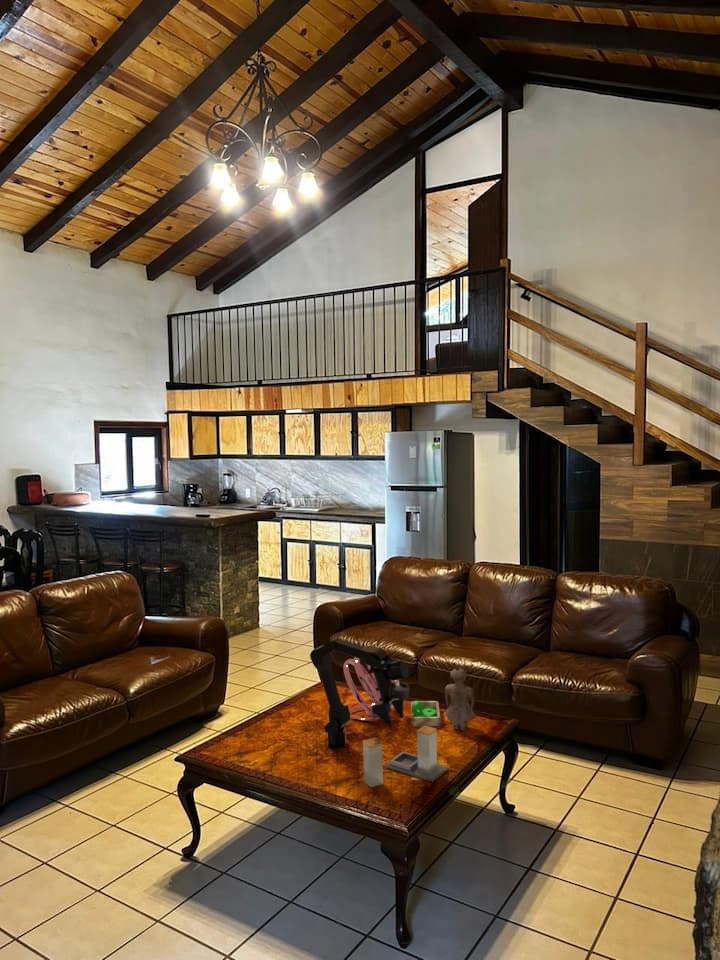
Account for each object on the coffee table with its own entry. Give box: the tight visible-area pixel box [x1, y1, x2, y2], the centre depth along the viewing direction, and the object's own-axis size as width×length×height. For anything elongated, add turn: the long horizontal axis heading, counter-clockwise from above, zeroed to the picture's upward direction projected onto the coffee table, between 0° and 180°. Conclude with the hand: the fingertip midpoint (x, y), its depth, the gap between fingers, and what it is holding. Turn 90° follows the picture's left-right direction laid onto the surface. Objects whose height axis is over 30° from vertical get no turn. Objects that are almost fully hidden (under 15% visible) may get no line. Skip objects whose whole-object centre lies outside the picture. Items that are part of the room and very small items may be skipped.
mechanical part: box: [412, 700, 437, 717], centre depth 303 cm, size 12×6×8 cm, turn 142°
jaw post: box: [362, 737, 384, 788], centre depth 248 cm, size 5×5×15 cm
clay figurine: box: [444, 667, 476, 731], centre depth 290 cm, size 13×10×25 cm
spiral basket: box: [343, 657, 400, 722], centre depth 306 cm, size 28×28×27 cm
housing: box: [384, 725, 448, 783], centre depth 256 cm, size 20×10×16 cm, turn 54°
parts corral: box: [410, 700, 441, 727], centre depth 303 cm, size 12×18×4 cm, turn 177°
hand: (396, 722), depth 265 cm, fingers open, 9 cm apart
